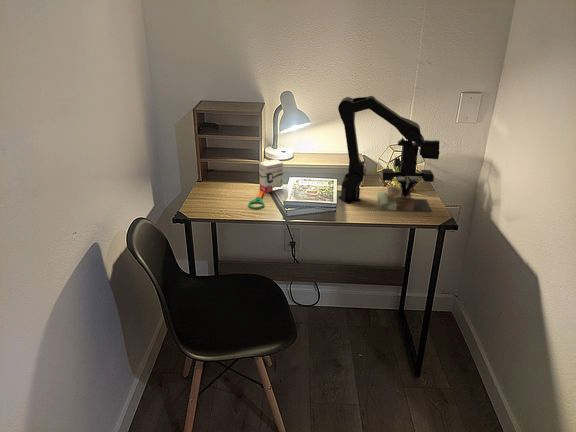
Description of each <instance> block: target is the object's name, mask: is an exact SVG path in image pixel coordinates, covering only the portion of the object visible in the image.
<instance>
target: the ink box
mask: <svg viewBox="0 0 576 432" xmlns="http://www.w3.org/2000/svg"><path fill="white" fill-rule="evenodd" d="M258 164H259V165H258V166H259V167H258V168H259V171H258V172H259V190H260V191H263V192H264V194H269V193H271V191H272V188H274V187H281V186H284V184H283V183H284V182H283V181H284V179H283V178H284V177H283V176H284V162H283V161H280V160H279V159H278V158H277V159H270V160H266V161H264V160H263V161H261V162H259V163H258ZM272 192H273V191H272Z"/></svg>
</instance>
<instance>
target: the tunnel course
mask: <svg viewBox="0 0 576 432" xmlns="http://www.w3.org/2000/svg"><path fill="white" fill-rule="evenodd" d="M400 188H401V190H402V187H400ZM411 192H412V188H411V189H410V191H409V192H408V194H407V196H406V197H404V194H403V190H402V194H401V198H397V200H396V201H389V200H387V197H386V192H385V191H383V192H381V191H378V192H377V197H376V198H377V203H378V208H379V210H384V211H385V210H386V211H387V210H389V211H413V212H429V213H430V212H432V209H431V208H430V206H429V203H428V201H427V199H426V198H425V199H424V198H423V199H422V198H414V197H412V195H411V194H412V193H411Z"/></svg>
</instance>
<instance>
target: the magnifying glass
mask: <svg viewBox="0 0 576 432" xmlns="http://www.w3.org/2000/svg"><path fill="white" fill-rule="evenodd" d="M264 194H265V193H264V192H263V191H261V190H260V191H259V193H258V194H257V197H256V198H254V199H252V200H250V201H249V202H248V206H247V207H248V208H249V209H251V210H261V209H263V208H264V207H265V202H264V200H263V197H264ZM254 204H259V205H260V206H253V205H254Z"/></svg>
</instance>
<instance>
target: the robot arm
mask: <svg viewBox="0 0 576 432" xmlns="http://www.w3.org/2000/svg"><path fill="white" fill-rule="evenodd" d="M337 110H338V113H339V116H340V119H341V121H342V124H343V126H344V133H345V139H346V140H345V141H346V147H347V154H348V173H346V174H345V175H344V177H343V180H342V182H341V191H340V195H338V198H339V200H341V201H343V202H344V203H346V204H350V203H351V204H352V203H355V202H356V203H357V202H360V201H361V199H360V192H361V187H360V184H361V183H362V182H363V180H364V177H365V176H366V172H367V169H366V166H365V165H366V161H365V160H363V161H361V158H360V153H359V146H358V145H359V144H358V138H357V131H356V122H355V121H356V113H358V112H361V111H365V110H370V111H372V112H373V113H374V114H376V115H377V116H379V117H380V118H382V119H383V120H385V121H386V122H388V124H390V125H392V126H393V127H394V128H396V130H397V131H398V132H399V133H400V134H401V136H403V137H401V139H400V140H398V141H397V146H398V147H399V146H400V147H402V148H401V158H397V157H396V158H394V160H393V167H395V168H396V167H398V171H394V170H393V168H382V169H381V179H382V181H392V180H394V178H396V182H397V183H398V184H400V185H401V188H402V190H403V194H404V197H406V196H407V194H408V192H409V191H410V189H411V190H412V188H413V186H414V185H415V184H418V179H422V180H423V181H424V182H426V183H432V182H434V179H435V175H434V173H433V171H432V170H430V169H421V170H420V172H416V171H417V163H418V155H419V156H420V157H421V158H422V159H425V160H426V159H428V160H439V157H440V140H437V139H434V140H429V139H425V138H424V136H423V135H422V132H421V128H420V125H419V123H417V122H416V121H413V120H411V119H410V118H406V117H404V116H401V115H399V114H397V112H396V111H394V110H392V109H391V108H389V107H388V106H387V105H385V104H384V103H382V102H381V101H380V100H378V99H377V98H376V97H375V96H374V95H368V96H362V97H361V96H359V97H354V98H352V97H349V96H346V97H344V98H342V99H341V100H340V102H339V104H338V107H337ZM418 153H419V154H418ZM406 178H407V179H406Z"/></svg>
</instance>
